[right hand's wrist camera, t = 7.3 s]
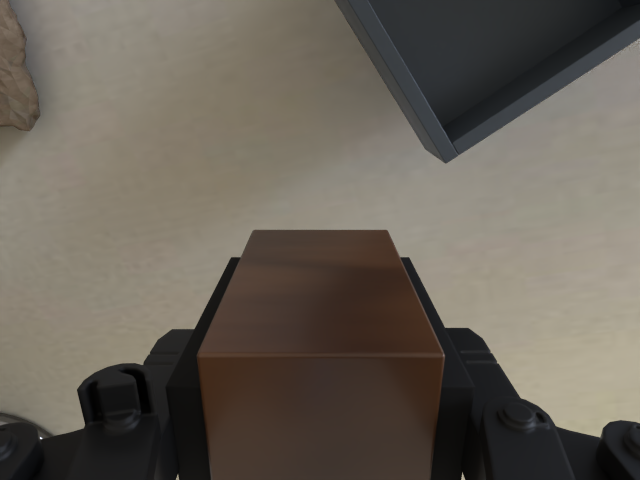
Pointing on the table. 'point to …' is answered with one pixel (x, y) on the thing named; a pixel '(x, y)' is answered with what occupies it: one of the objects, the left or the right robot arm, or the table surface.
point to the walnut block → (320, 363)
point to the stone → (15, 75)
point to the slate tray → (483, 57)
